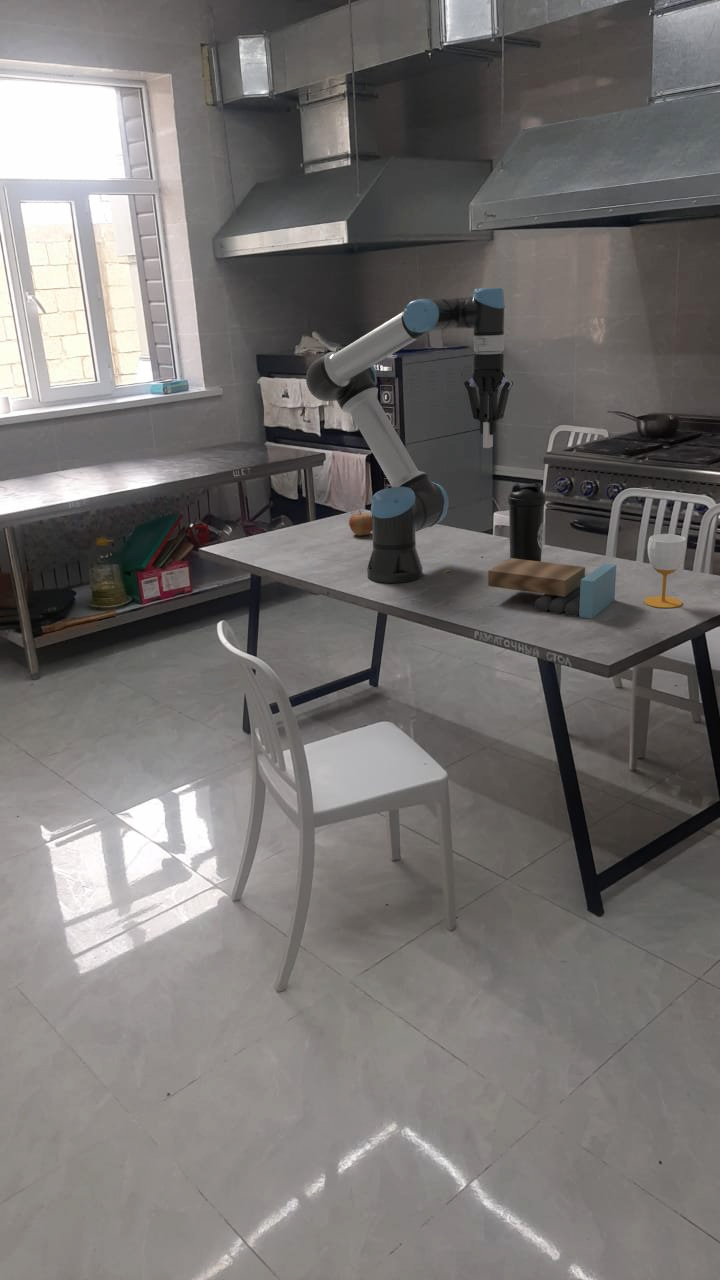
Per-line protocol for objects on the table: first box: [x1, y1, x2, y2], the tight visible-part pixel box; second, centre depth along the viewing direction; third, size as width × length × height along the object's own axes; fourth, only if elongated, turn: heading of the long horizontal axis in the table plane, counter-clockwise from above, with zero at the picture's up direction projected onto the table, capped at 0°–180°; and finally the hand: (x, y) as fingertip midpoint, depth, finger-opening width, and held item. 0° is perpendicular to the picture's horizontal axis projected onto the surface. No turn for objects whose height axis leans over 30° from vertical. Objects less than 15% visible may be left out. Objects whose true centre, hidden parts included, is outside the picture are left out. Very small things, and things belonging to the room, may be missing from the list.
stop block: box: [578, 562, 617, 619], centre depth 230 cm, size 3×16×9 cm, turn 147°
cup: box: [643, 533, 687, 609], centre depth 231 cm, size 9×9×16 cm
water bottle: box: [507, 482, 547, 562], centre depth 265 cm, size 10×10×23 cm
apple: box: [348, 510, 372, 537], centre depth 309 cm, size 8×8×8 cm
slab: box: [487, 557, 586, 597], centre depth 238 cm, size 20×13×4 cm, turn 57°
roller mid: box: [548, 586, 580, 615], centre depth 235 cm, size 16×4×4 cm
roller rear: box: [534, 594, 558, 613], centre depth 237 cm, size 16×4×4 cm
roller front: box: [564, 595, 580, 617], centre depth 233 cm, size 16×4×4 cm, turn 147°
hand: (487, 447), depth 251 cm, fingers closed
